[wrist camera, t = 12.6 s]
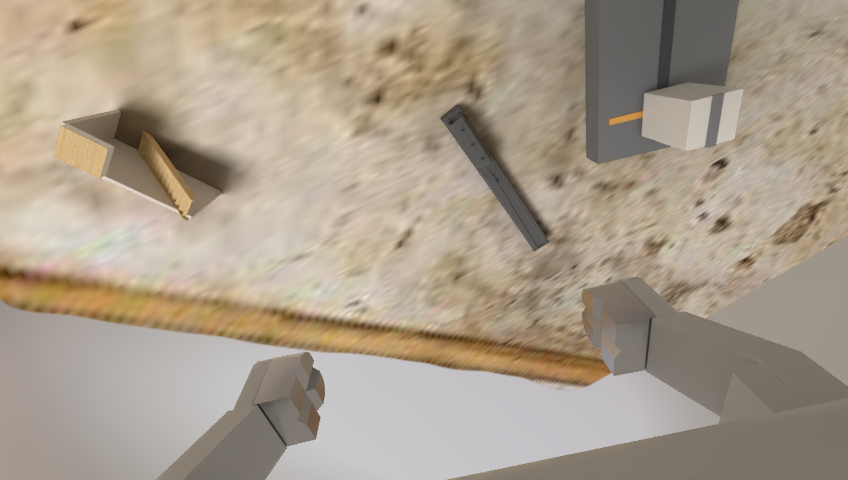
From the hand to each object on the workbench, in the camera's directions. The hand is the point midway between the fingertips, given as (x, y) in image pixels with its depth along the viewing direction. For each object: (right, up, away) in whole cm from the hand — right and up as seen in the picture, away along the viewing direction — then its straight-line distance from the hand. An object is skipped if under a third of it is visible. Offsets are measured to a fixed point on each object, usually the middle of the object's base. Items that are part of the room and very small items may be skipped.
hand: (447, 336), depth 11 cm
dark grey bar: (+8, +10, +29) cm, 32 cm away
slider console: (+20, +23, +23) cm, 38 cm away
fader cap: (+22, +15, +23) cm, 36 cm away
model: (-26, +12, +26) cm, 38 cm away
